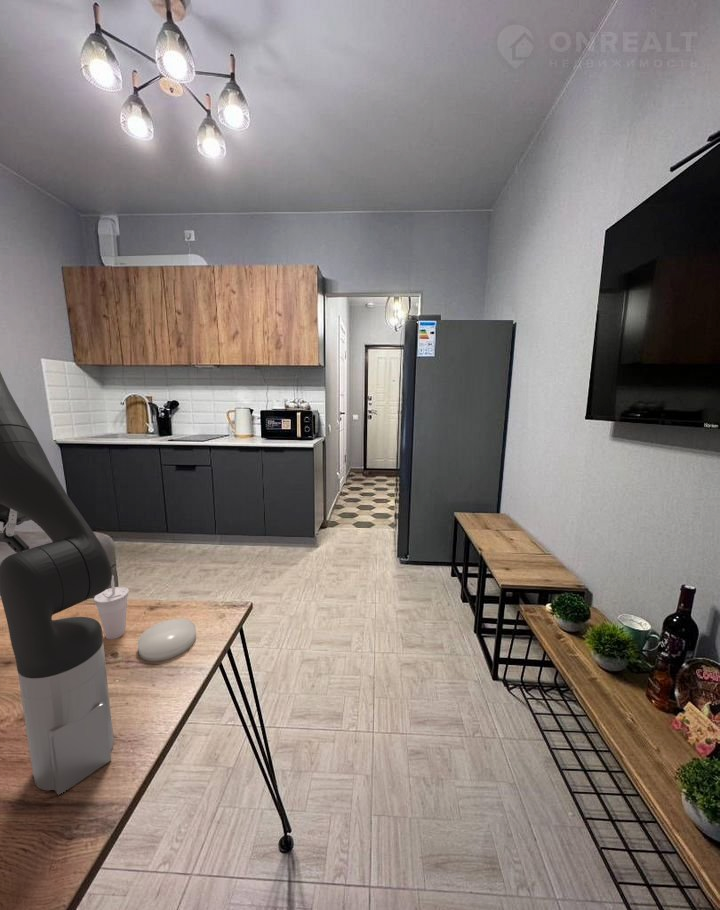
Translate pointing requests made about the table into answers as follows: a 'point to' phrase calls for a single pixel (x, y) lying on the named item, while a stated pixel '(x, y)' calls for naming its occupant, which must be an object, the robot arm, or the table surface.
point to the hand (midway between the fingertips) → (47, 540)
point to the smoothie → (113, 610)
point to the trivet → (166, 639)
